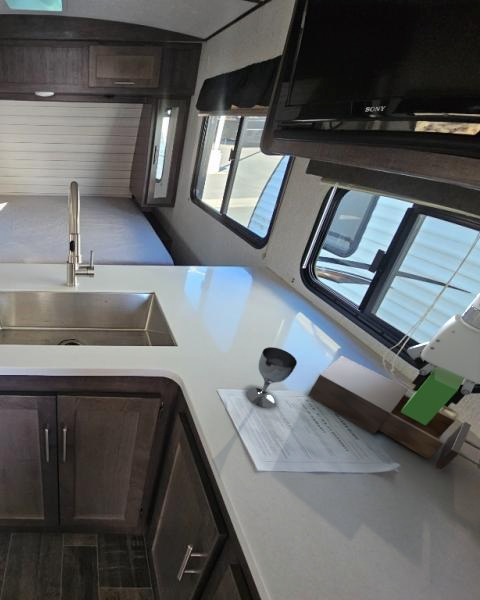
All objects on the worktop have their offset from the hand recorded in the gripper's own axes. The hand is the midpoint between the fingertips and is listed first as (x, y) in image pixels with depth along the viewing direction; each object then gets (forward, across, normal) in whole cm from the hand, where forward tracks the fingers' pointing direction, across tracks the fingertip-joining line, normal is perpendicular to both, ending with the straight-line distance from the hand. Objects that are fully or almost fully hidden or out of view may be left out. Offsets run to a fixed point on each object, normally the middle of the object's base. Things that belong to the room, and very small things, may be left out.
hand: (431, 394), depth 65 cm
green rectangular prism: (+5, 0, 0) cm, 5 cm away
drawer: (+20, -5, -14) cm, 25 cm away
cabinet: (+21, +11, -14) cm, 27 cm away
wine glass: (+21, +26, +6) cm, 34 cm away
